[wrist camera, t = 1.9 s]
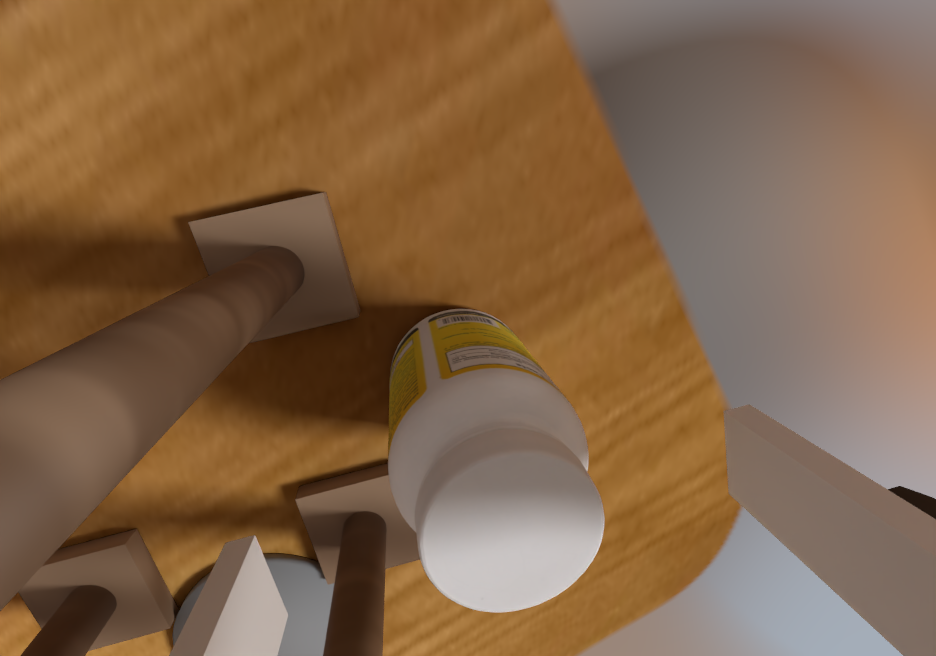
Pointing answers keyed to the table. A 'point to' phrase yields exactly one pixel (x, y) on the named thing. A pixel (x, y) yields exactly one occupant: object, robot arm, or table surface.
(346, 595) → the post corner
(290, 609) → the coaster
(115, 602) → the post
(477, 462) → the pill bottle
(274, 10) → the table surface
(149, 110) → the table surface
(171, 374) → the post
